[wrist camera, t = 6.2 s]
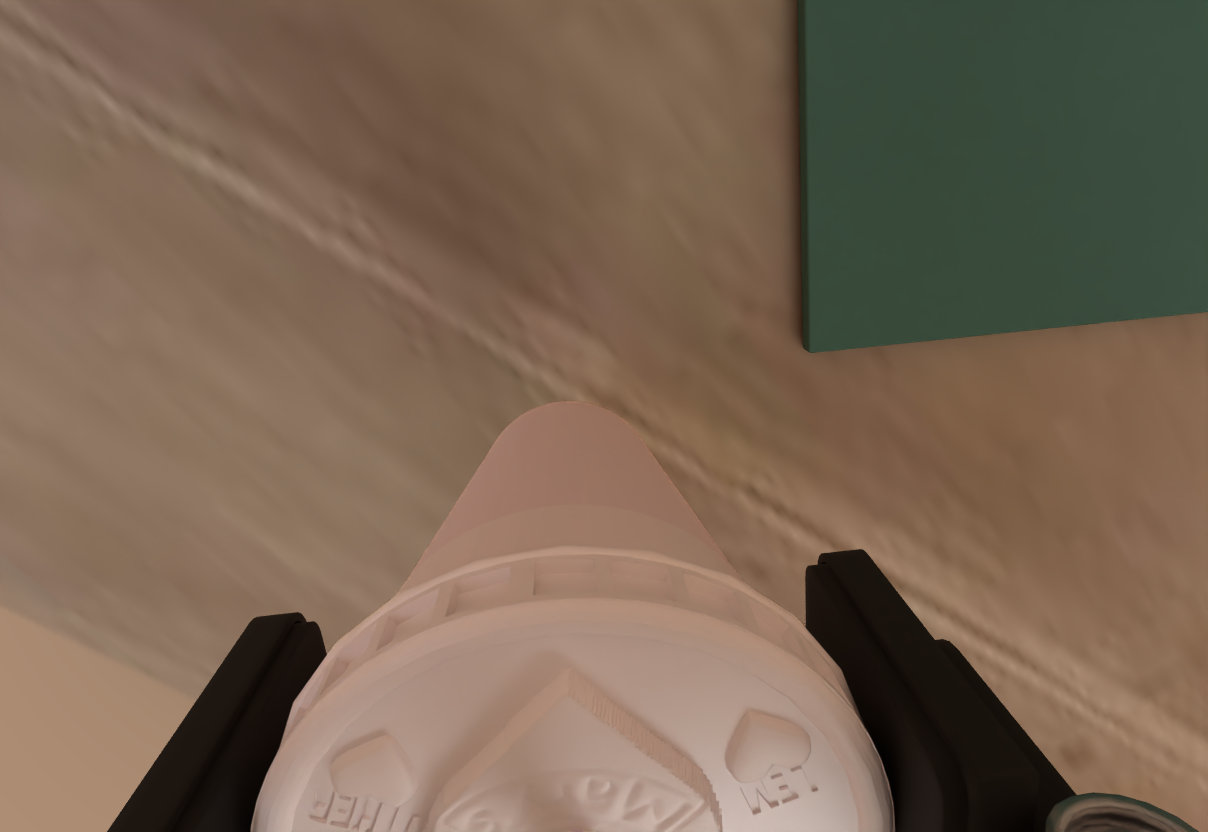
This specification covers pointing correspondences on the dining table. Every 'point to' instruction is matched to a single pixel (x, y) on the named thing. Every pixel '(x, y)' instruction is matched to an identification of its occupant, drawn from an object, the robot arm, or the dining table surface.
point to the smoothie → (575, 672)
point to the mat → (999, 166)
